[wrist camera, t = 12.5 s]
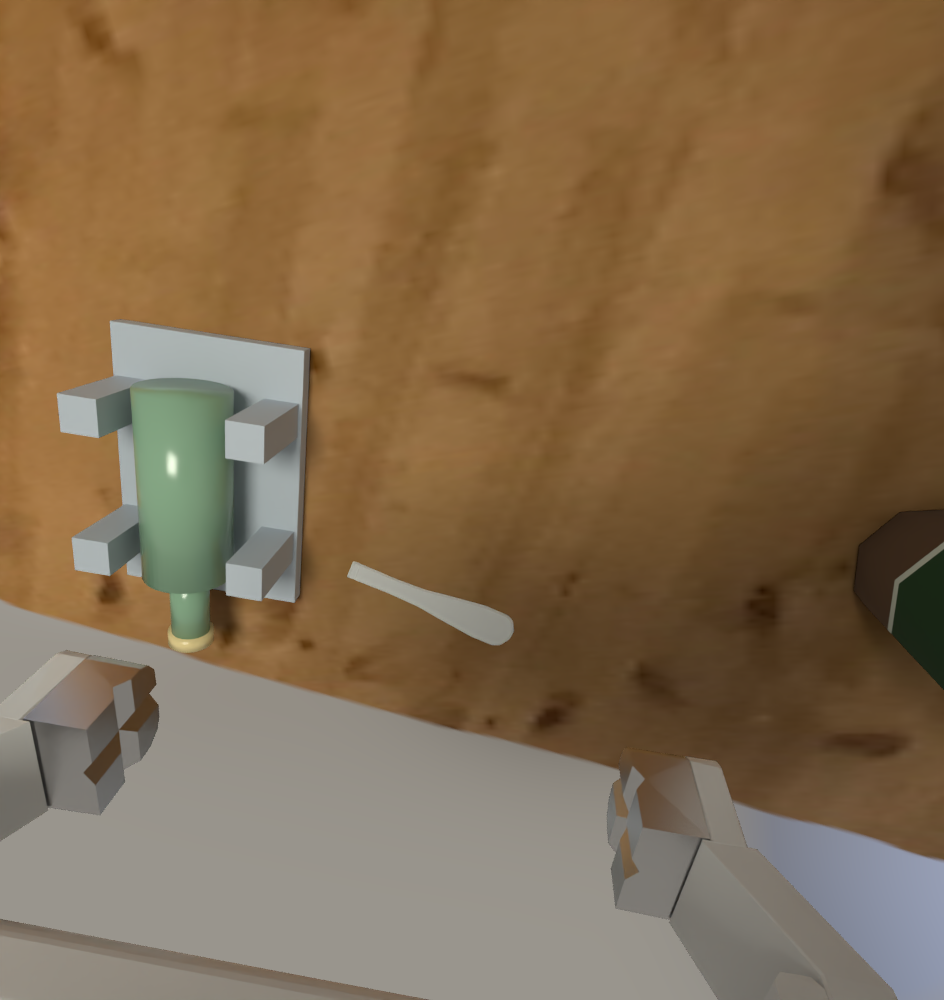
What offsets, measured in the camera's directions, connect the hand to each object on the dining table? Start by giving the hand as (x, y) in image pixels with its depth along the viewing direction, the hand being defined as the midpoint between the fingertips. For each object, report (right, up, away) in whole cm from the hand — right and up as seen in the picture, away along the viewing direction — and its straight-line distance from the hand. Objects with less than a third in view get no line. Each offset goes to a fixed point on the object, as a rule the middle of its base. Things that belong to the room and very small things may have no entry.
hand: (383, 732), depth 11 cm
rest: (-14, +6, +28) cm, 32 cm away
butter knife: (-7, 0, +31) cm, 31 cm away
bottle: (-14, +3, +28) cm, 32 cm away
